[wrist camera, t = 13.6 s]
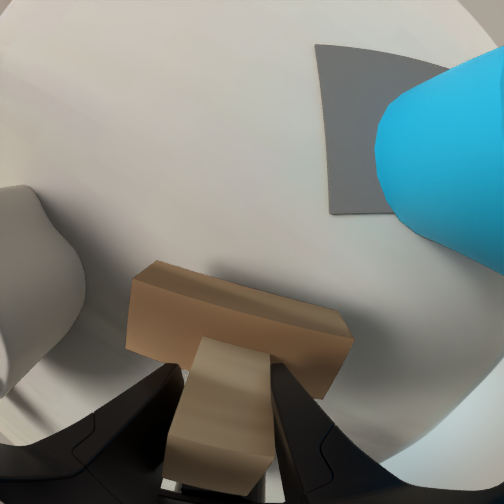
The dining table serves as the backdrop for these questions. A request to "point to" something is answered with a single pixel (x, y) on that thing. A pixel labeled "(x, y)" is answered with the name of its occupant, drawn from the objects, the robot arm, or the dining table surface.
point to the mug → (449, 158)
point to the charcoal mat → (360, 118)
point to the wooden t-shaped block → (228, 367)
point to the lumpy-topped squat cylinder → (33, 284)
